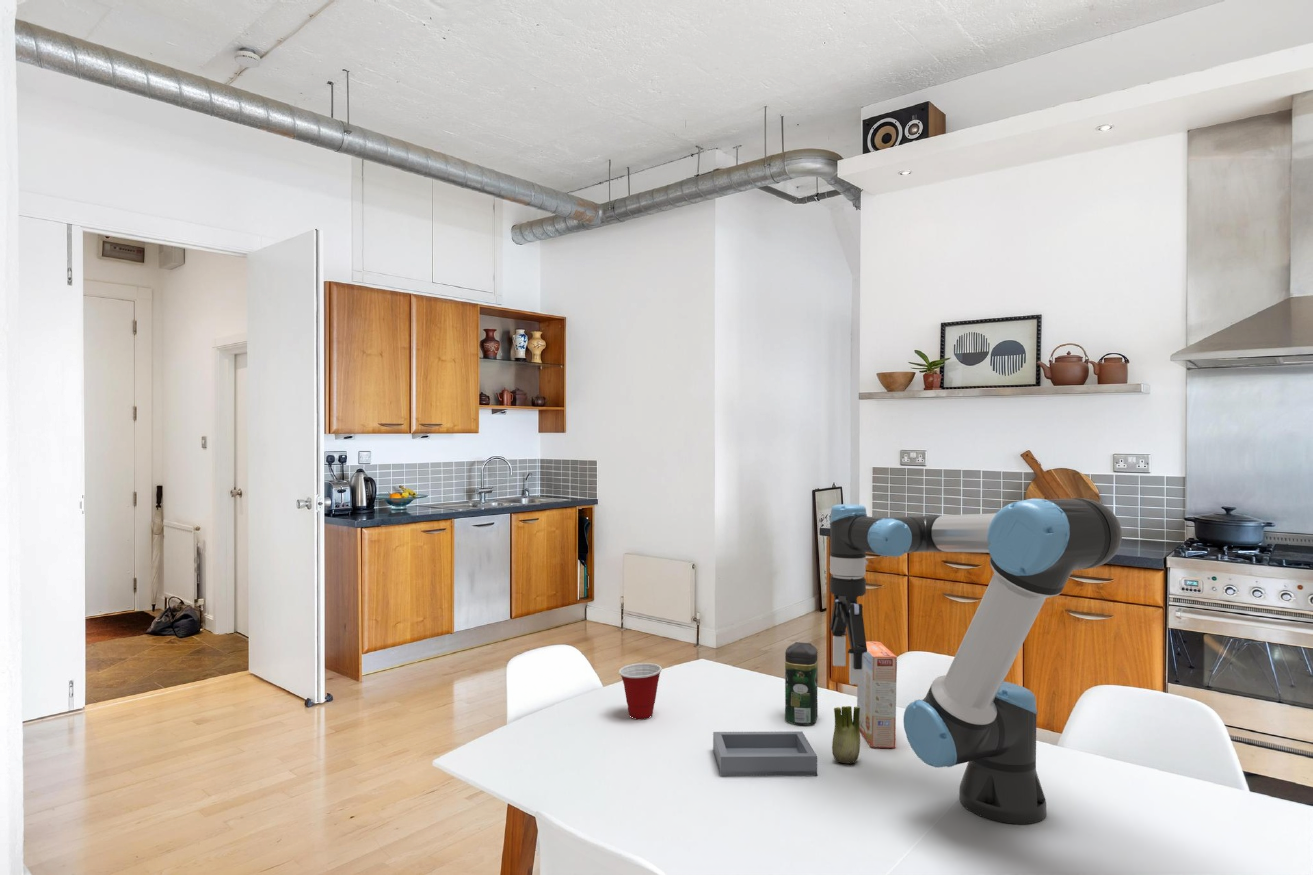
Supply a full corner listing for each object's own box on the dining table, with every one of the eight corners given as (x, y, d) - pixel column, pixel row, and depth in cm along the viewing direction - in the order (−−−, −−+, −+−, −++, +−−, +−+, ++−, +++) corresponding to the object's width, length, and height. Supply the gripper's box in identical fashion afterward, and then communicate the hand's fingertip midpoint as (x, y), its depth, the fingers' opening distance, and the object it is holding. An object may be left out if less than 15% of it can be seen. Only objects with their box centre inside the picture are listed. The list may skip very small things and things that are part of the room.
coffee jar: (787, 711, 201) (788, 638, 202) (819, 715, 199) (819, 641, 199) (782, 724, 192) (782, 648, 192) (815, 728, 190) (815, 651, 190)
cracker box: (897, 749, 177) (898, 656, 177) (870, 748, 177) (871, 655, 177) (881, 726, 191) (881, 640, 191) (856, 726, 191) (856, 640, 191)
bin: (817, 775, 162) (817, 756, 162) (720, 776, 162) (720, 756, 162) (802, 749, 176) (802, 731, 176) (713, 749, 176) (713, 731, 176)
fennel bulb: (860, 759, 171) (860, 704, 171) (859, 768, 167) (860, 711, 167) (832, 756, 173) (833, 701, 173) (831, 765, 168) (832, 708, 168)
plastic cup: (613, 711, 201) (613, 663, 201) (653, 707, 204) (654, 660, 204) (624, 725, 190) (624, 675, 190) (667, 721, 194) (667, 672, 194)
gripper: (883, 586, 158) (882, 692, 158) (849, 567, 183) (848, 658, 183) (846, 586, 158) (845, 692, 158) (817, 567, 183) (816, 658, 183)
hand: (847, 674), depth 170 cm, fingers open, 13 cm apart
